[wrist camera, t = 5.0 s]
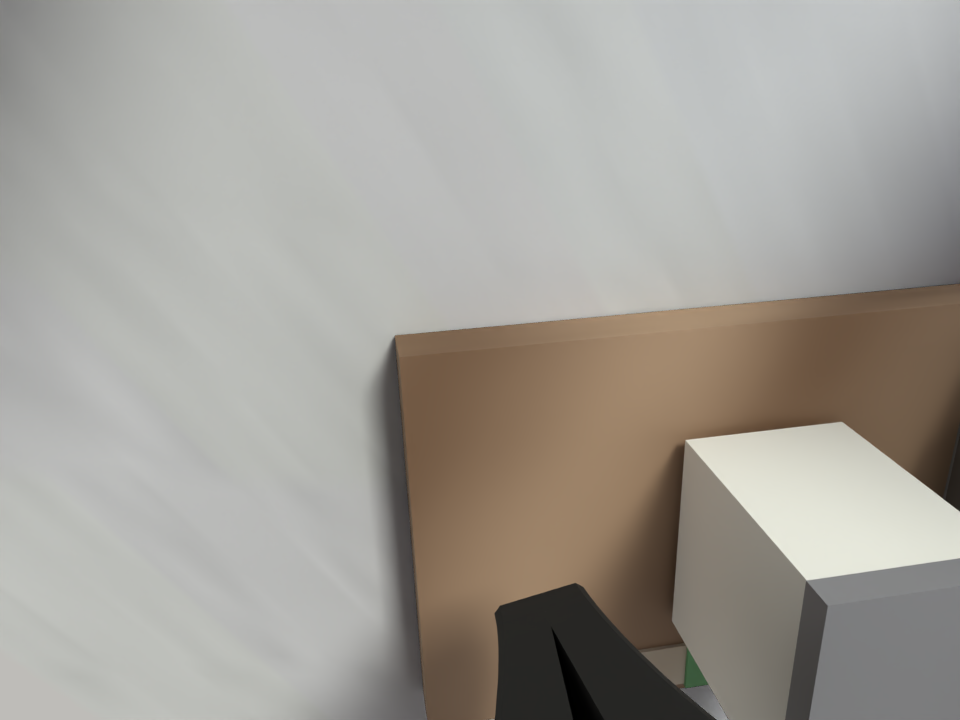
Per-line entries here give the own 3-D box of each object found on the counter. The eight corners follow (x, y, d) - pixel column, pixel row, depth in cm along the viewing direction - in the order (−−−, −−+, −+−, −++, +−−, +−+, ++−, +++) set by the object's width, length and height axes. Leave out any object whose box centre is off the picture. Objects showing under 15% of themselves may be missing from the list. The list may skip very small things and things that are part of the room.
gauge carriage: (844, 419, 14) (1048, 572, 10) (805, 665, 17) (960, 871, 13) (682, 438, 14) (828, 606, 10) (664, 687, 16) (777, 909, 12)
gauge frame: (1107, 270, 16) (1524, 398, 10) (1016, 598, 19) (1298, 832, 13) (394, 335, 14) (436, 538, 8) (423, 691, 17) (467, 1010, 11)
